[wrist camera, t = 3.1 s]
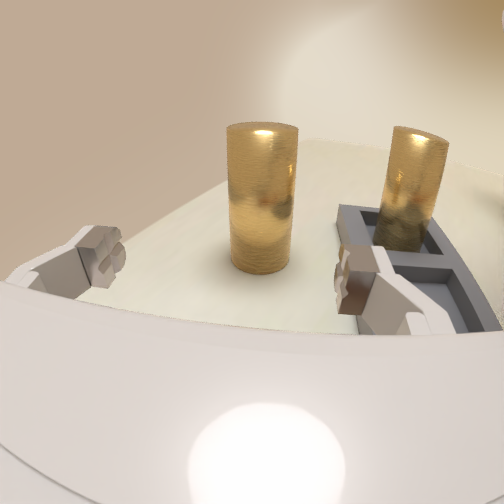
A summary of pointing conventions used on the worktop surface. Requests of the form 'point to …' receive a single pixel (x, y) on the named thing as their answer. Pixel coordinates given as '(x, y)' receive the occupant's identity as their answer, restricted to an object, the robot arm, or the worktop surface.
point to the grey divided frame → (426, 272)
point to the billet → (261, 194)
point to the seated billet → (410, 189)
